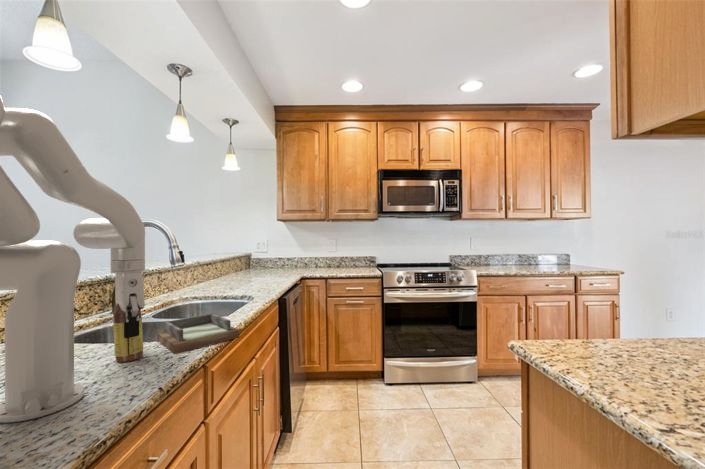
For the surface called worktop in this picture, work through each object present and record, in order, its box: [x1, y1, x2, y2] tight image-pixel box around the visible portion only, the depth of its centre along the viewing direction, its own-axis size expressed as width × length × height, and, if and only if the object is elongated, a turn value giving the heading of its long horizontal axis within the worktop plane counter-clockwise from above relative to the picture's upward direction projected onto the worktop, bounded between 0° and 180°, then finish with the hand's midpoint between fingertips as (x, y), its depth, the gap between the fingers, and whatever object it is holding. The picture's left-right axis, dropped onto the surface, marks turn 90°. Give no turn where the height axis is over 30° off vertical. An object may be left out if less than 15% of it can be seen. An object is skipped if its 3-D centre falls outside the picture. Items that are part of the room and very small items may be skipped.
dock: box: [156, 313, 240, 355], centre depth 100 cm, size 16×19×6 cm
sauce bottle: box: [112, 303, 144, 363], centre depth 85 cm, size 6×6×20 cm
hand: (128, 333), depth 85 cm, fingers closed on sauce bottle, 6 cm apart
